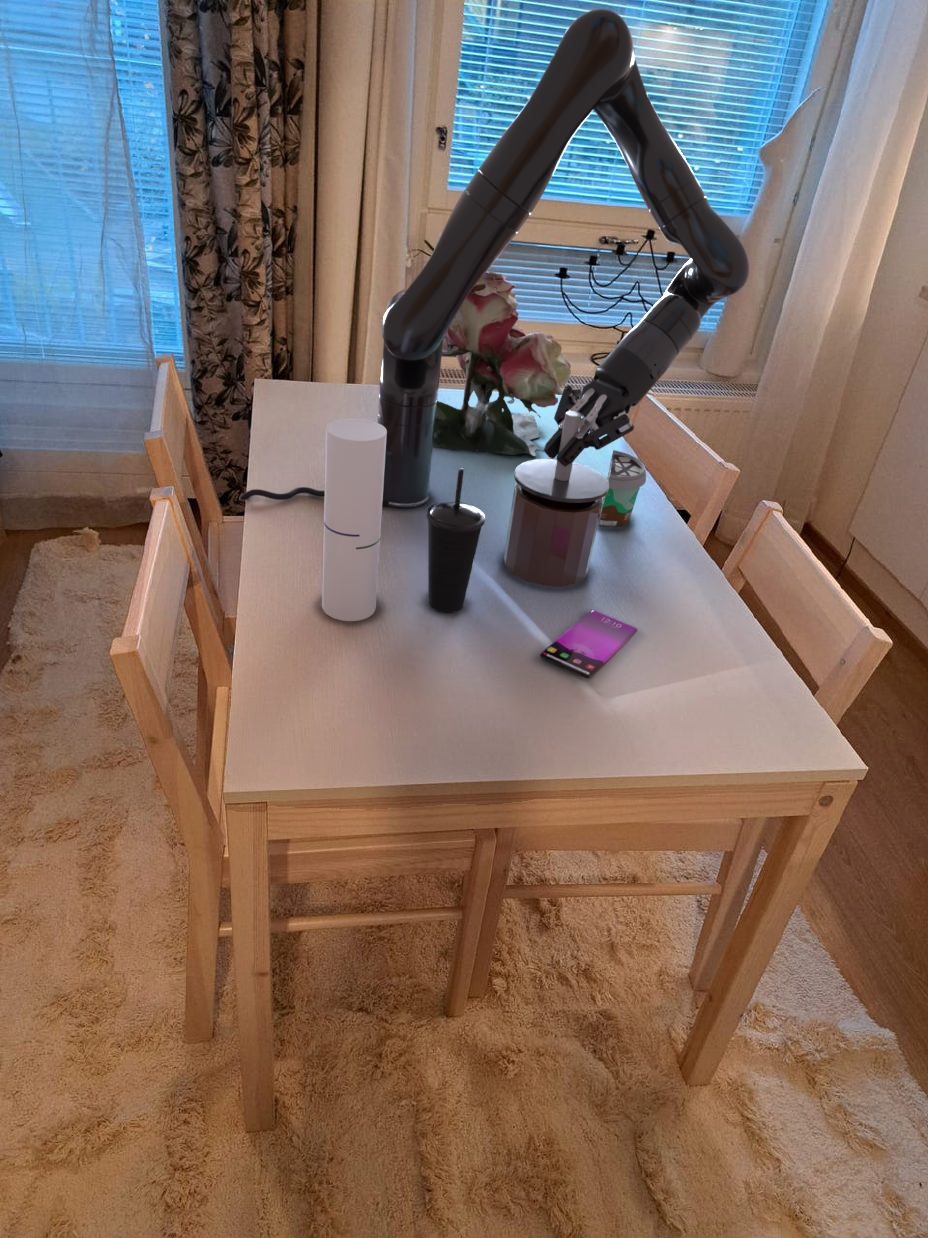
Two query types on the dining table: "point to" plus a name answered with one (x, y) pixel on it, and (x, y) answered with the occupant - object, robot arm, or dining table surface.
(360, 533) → the cylindrical container
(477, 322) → the rose bouquet
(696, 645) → the dining table surface
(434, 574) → the drinking cup
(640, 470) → the food container
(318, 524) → the dining table surface
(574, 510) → the brown cylindrical pot
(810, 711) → the dining table surface
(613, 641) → the smartphone
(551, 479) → the lid
